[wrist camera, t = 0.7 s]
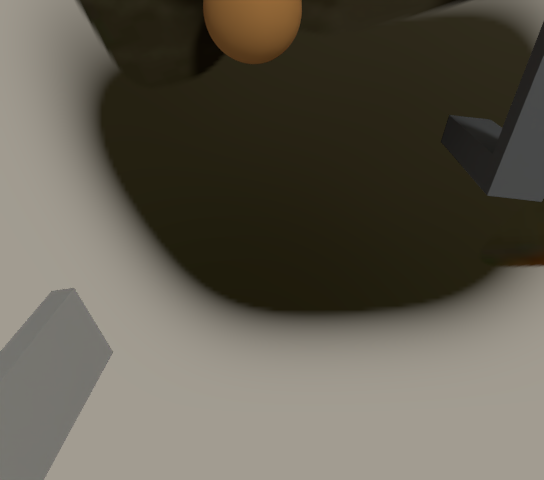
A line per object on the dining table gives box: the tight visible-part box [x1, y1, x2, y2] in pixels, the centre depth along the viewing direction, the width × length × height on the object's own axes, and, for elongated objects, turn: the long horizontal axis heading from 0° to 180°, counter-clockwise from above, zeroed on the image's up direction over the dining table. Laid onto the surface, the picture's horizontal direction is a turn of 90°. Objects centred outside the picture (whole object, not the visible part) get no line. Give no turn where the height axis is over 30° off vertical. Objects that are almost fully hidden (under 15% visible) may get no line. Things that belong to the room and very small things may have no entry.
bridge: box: [441, 22, 544, 202], centre depth 23 cm, size 15×3×10 cm, turn 175°
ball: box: [203, 0, 302, 64], centre depth 25 cm, size 6×6×6 cm
